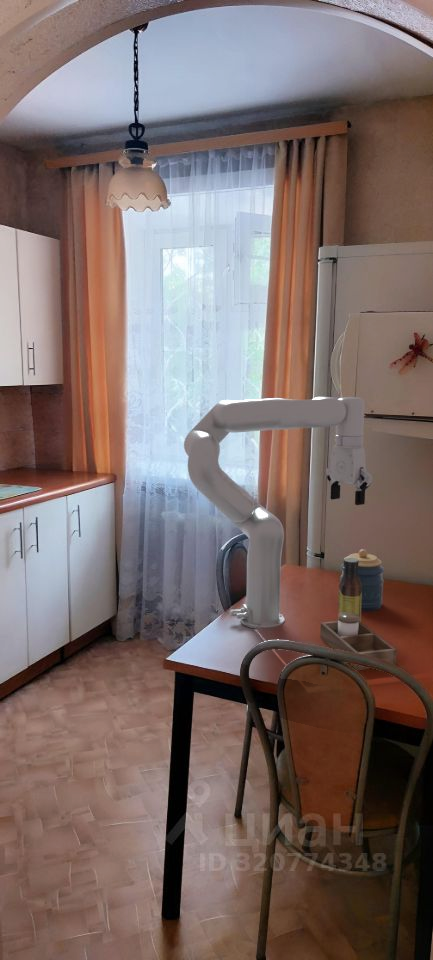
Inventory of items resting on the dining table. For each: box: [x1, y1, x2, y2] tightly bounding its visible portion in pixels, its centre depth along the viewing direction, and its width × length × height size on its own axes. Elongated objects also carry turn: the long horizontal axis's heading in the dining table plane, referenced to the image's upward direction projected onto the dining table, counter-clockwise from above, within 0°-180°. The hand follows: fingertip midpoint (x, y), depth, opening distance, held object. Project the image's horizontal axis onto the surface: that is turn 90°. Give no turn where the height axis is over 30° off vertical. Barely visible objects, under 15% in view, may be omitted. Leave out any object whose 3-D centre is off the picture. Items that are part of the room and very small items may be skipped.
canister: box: [339, 548, 385, 613], centre depth 202 cm, size 13×13×18 cm
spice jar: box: [337, 612, 359, 637], centre depth 172 cm, size 5×5×7 cm
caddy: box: [319, 620, 398, 671], centre depth 167 cm, size 11×20×5 cm, turn 15°
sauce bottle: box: [337, 557, 362, 623], centre depth 183 cm, size 7×6×20 cm
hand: (347, 501), depth 187 cm, fingers open, 9 cm apart
